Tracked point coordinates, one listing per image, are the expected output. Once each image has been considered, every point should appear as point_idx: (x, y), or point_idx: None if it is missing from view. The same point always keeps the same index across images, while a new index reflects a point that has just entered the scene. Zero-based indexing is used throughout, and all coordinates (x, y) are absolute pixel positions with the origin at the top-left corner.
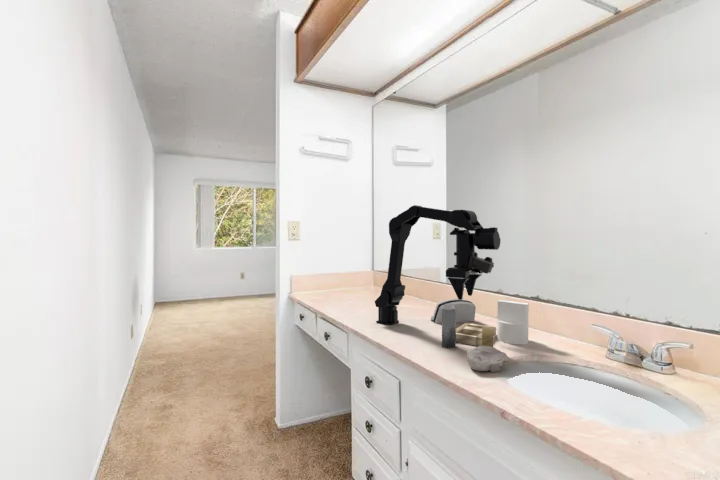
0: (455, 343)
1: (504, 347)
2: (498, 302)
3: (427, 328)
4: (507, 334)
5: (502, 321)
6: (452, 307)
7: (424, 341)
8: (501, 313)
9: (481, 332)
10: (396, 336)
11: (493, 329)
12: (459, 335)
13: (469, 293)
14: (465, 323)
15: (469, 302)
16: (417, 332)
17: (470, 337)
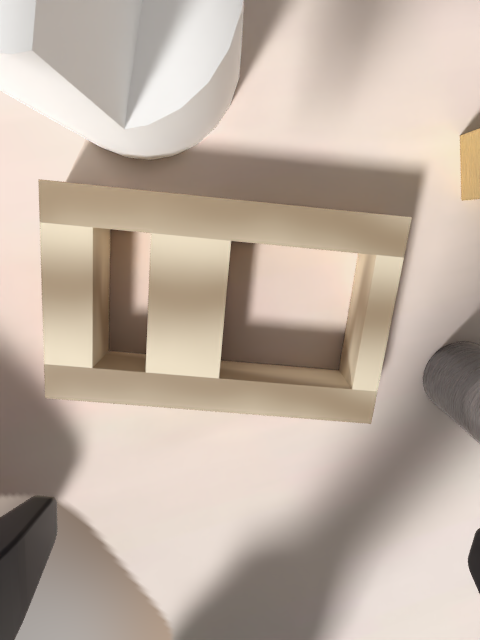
0: (477, 348)
1: (347, 81)
2: (46, 44)
3: (164, 561)
4: (239, 52)
5: (169, 71)
6: None
7: (419, 498)
8: (109, 59)
9: (229, 253)
10: (391, 624)
11: (111, 187)
12: (380, 359)
13: (41, 547)
14: (70, 397)
15: None
16: (272, 575)
17: (394, 290)
